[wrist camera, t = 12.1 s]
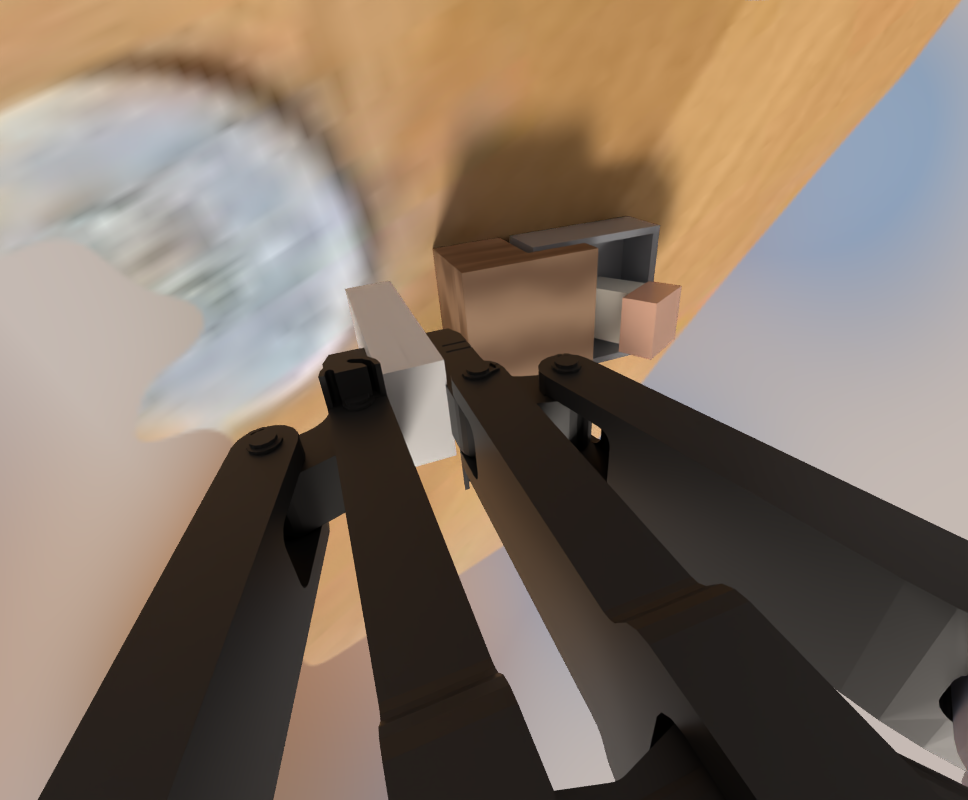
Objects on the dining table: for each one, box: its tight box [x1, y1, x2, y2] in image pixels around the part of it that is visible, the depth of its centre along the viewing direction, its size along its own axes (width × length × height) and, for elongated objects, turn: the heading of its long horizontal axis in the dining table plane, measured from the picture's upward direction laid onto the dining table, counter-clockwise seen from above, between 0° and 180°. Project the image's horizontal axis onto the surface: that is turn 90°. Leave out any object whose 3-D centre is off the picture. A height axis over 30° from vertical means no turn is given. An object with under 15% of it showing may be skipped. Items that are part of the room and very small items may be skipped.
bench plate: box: [433, 238, 598, 376], centre depth 42 cm, size 14×11×8 cm
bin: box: [510, 216, 660, 363], centre depth 45 cm, size 12×12×5 cm
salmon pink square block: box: [619, 281, 682, 359], centre depth 42 cm, size 5×5×3 cm
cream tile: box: [594, 276, 645, 343], centre depth 46 cm, size 5×5×3 cm
